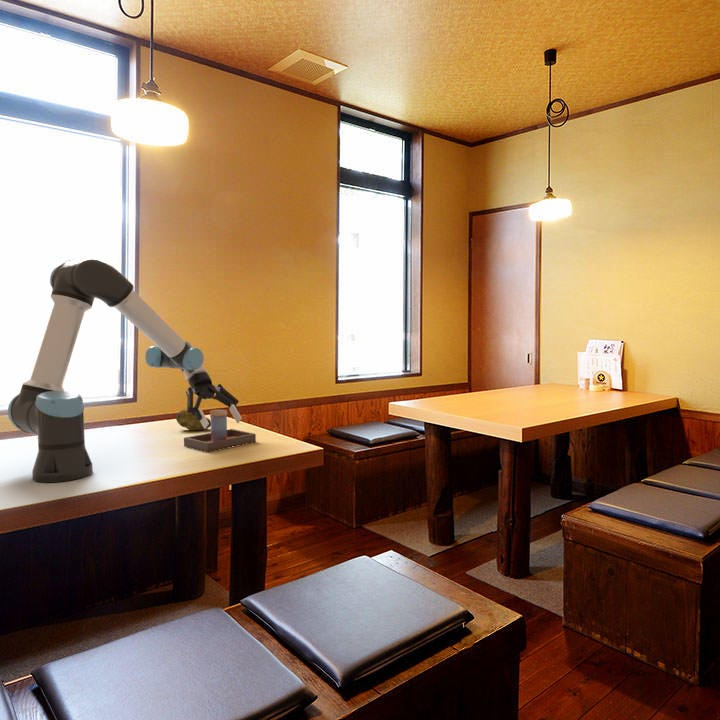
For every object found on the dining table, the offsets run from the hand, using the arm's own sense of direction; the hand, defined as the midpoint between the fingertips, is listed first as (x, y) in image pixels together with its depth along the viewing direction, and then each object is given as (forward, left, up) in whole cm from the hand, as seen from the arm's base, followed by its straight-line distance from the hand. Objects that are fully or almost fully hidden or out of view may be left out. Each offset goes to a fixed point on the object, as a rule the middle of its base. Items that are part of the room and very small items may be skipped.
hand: (223, 423), depth 198 cm
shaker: (0, +2, -7) cm, 7 cm away
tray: (0, +2, -8) cm, 8 cm away
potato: (+8, +32, -8) cm, 34 cm away
